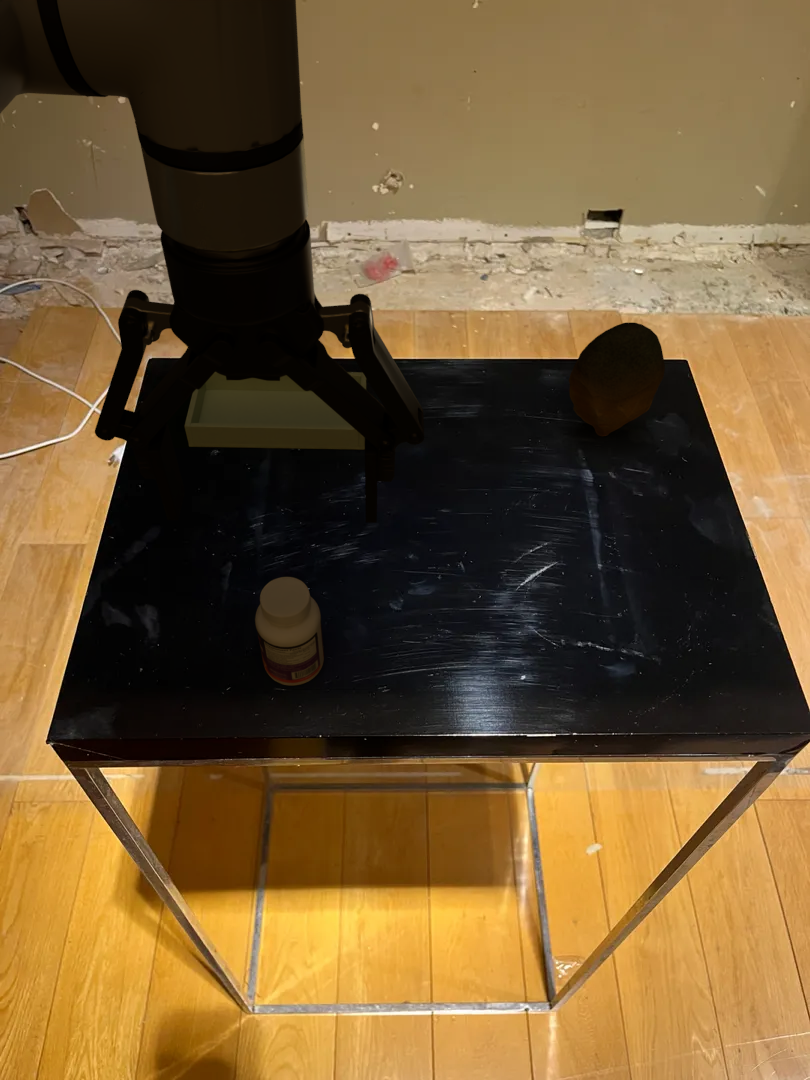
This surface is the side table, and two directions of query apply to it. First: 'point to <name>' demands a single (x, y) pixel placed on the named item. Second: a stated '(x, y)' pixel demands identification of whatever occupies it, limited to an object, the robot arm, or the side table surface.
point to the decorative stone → (617, 377)
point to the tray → (266, 416)
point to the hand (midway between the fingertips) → (274, 507)
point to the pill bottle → (289, 632)
